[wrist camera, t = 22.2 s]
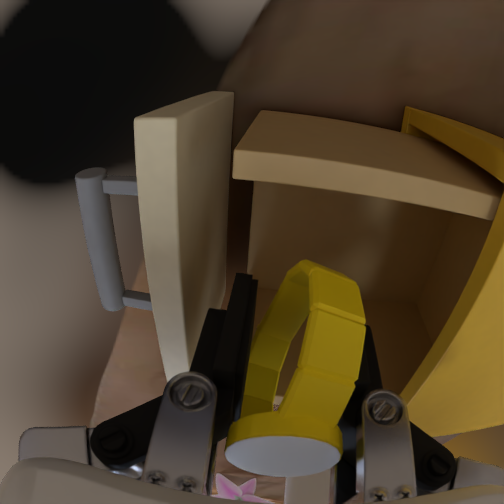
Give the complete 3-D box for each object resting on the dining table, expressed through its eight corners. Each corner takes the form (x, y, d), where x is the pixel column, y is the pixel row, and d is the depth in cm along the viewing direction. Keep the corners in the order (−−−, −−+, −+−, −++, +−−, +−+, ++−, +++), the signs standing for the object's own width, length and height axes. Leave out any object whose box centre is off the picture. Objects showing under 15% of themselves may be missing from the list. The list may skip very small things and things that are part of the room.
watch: (290, 360, 13) (280, 493, 8) (228, 340, 13) (196, 476, 8) (368, 251, 10) (411, 422, 5) (290, 218, 10) (278, 396, 5)
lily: (287, 479, 47) (278, 514, 38) (257, 508, 49) (246, 540, 40) (230, 451, 49) (213, 484, 40) (205, 483, 51) (188, 513, 42)
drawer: (145, 279, 22) (91, 380, 14) (131, 92, 15) (15, 128, 7) (413, 310, 21) (447, 416, 13) (473, 138, 14) (577, 204, 6)
